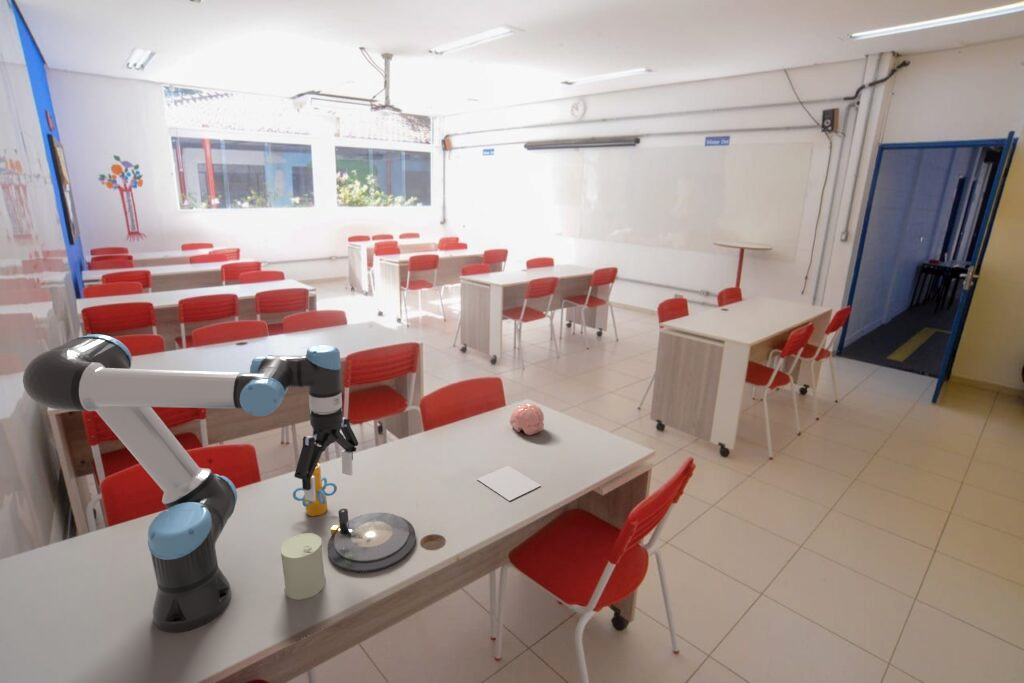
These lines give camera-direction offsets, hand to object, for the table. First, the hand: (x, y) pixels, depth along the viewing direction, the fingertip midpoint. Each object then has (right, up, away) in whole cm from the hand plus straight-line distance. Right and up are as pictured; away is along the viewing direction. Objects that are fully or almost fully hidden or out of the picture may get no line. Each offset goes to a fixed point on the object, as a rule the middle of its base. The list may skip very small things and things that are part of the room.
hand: (329, 486), depth 131 cm
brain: (+52, 0, +80) cm, 95 cm away
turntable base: (+8, -18, +9) cm, 22 cm away
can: (-4, -23, -6) cm, 24 cm away
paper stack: (+39, -11, +40) cm, 57 cm away
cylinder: (-12, -14, +23) cm, 30 cm away
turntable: (+8, -17, +9) cm, 21 cm away
